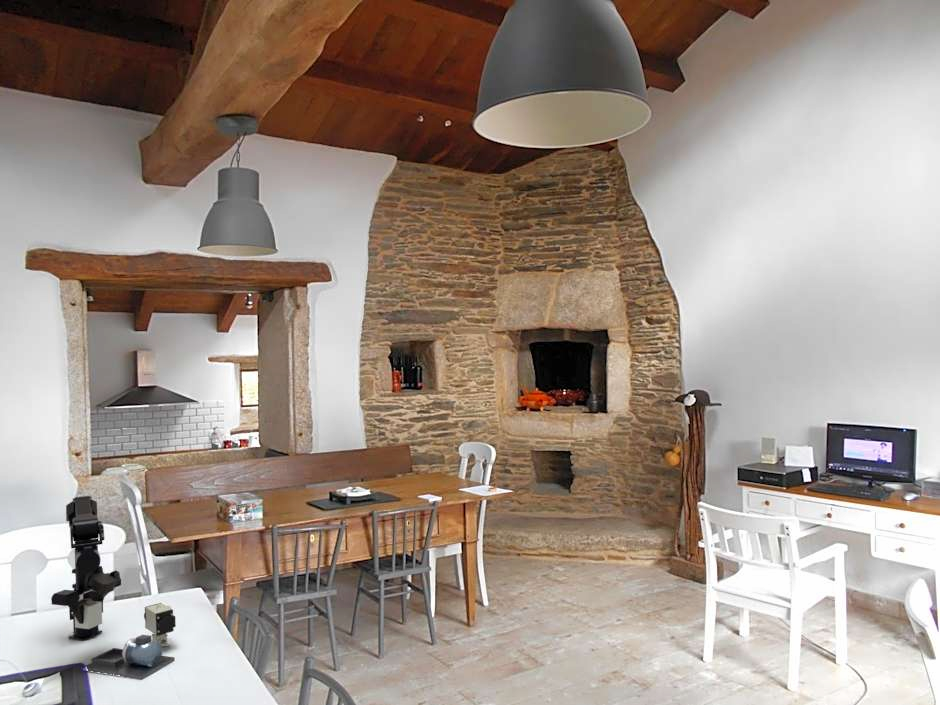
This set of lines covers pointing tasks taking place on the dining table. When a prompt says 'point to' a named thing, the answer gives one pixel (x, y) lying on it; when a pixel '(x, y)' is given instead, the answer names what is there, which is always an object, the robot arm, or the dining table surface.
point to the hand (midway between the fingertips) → (88, 620)
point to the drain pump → (91, 614)
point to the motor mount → (132, 659)
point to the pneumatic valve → (159, 622)
